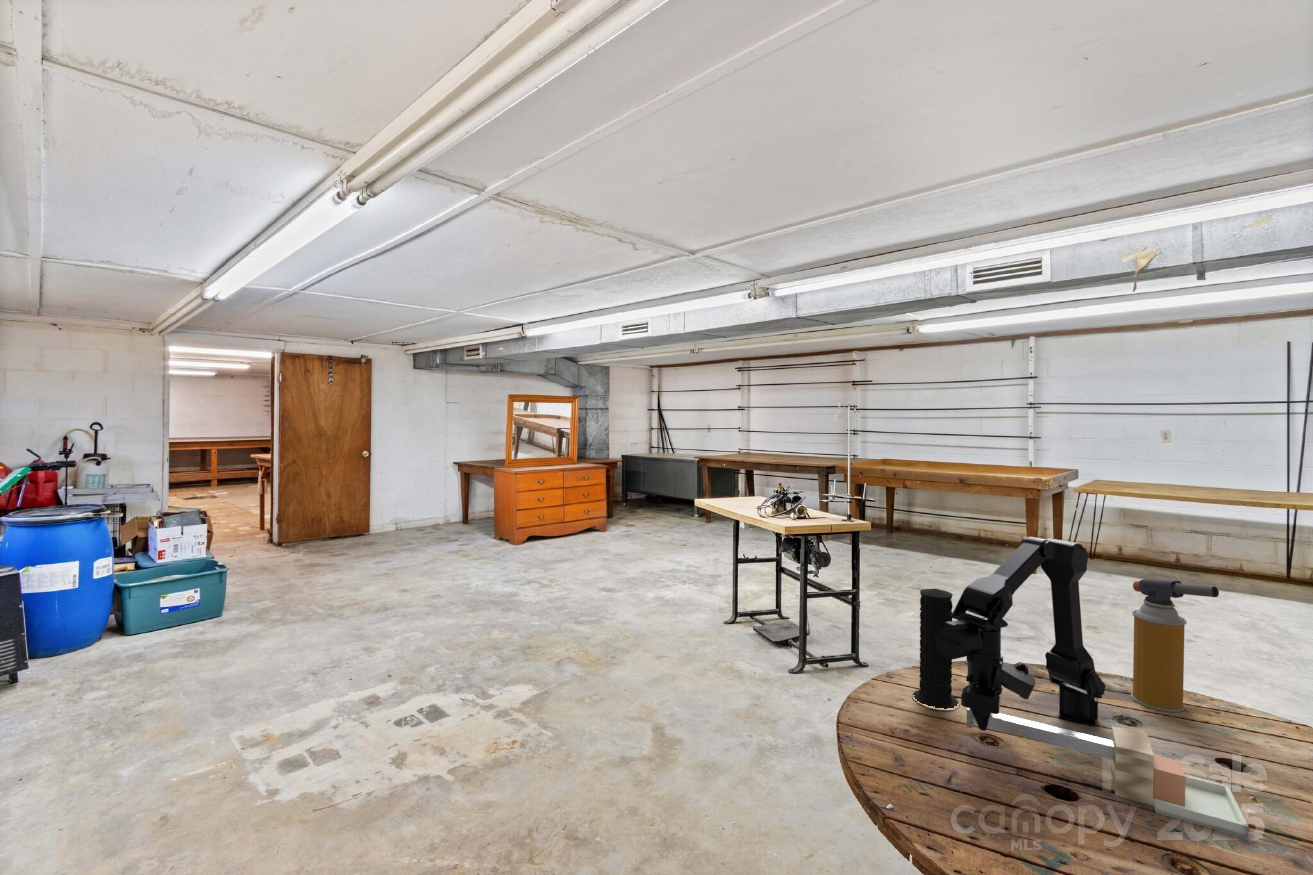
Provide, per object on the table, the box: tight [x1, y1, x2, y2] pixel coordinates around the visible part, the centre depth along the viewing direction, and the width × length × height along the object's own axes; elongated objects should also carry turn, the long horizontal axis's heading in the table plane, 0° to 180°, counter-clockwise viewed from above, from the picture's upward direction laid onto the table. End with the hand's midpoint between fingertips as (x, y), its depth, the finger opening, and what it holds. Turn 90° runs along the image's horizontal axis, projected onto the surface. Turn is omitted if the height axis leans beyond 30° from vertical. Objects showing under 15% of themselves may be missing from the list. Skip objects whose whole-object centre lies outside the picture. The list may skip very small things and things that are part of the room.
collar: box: [1153, 754, 1186, 807], centre depth 99 cm, size 4×5×5 cm
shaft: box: [966, 707, 1115, 761], centre depth 109 cm, size 26×4×4 cm, turn 56°
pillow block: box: [1110, 725, 1155, 807], centre depth 102 cm, size 5×8×9 cm, turn 146°
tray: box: [1153, 774, 1249, 840], centre depth 98 cm, size 11×12×2 cm
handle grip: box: [912, 588, 959, 709], centre depth 134 cm, size 10×26×10 cm
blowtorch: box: [1130, 578, 1220, 713], centre depth 130 cm, size 9×16×30 cm, turn 15°
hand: (983, 726), depth 115 cm, fingers closed on shaft, 2 cm apart
